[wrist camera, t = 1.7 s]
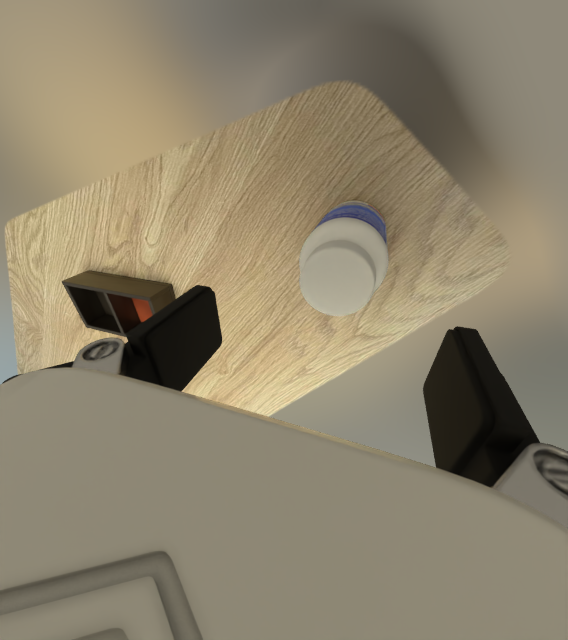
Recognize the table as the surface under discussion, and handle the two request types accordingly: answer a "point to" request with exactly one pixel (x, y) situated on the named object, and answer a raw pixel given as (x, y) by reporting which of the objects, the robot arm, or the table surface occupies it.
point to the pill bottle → (344, 259)
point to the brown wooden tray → (116, 300)
